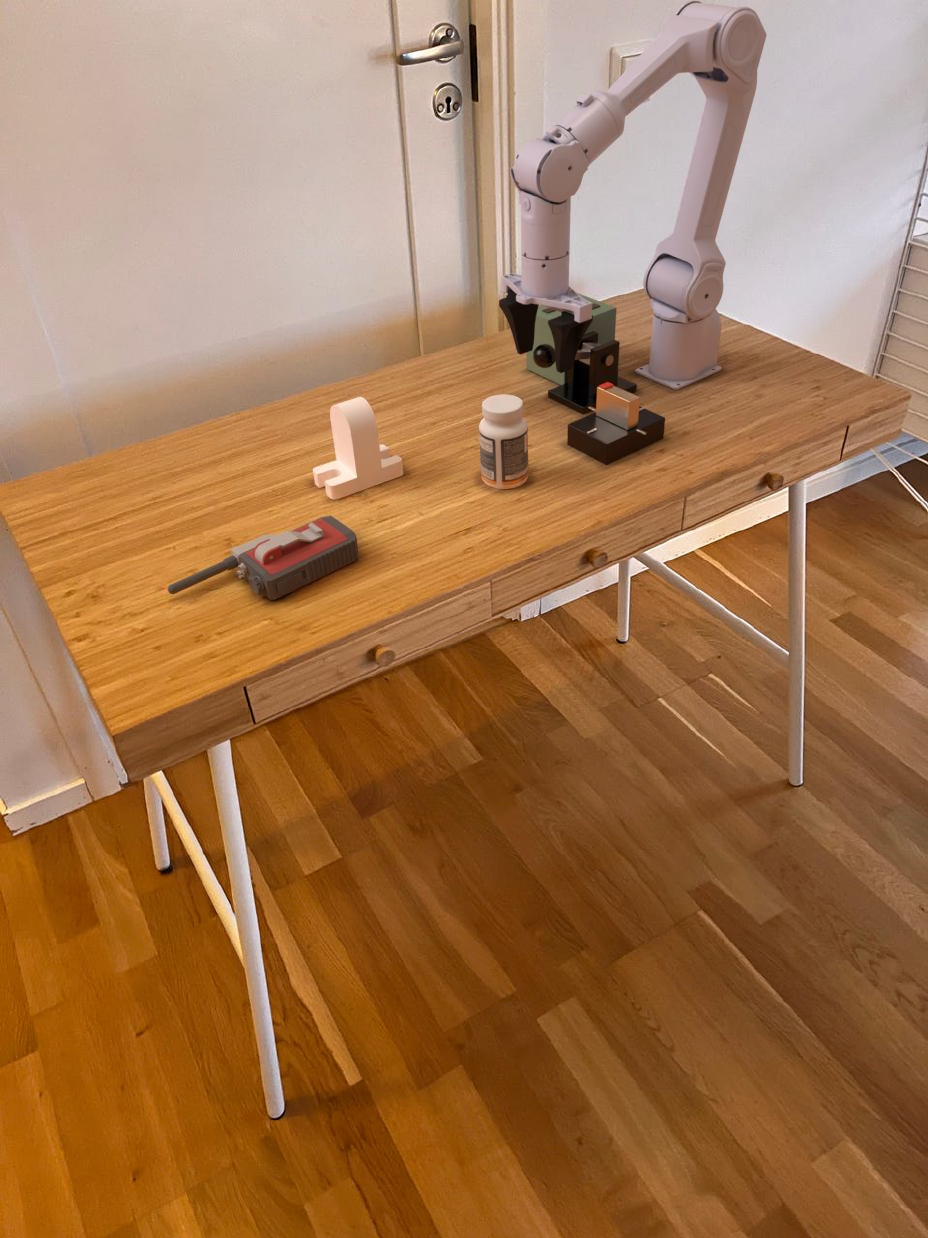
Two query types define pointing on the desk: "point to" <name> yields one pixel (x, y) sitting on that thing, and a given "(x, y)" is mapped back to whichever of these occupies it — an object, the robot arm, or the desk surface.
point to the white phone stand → (356, 452)
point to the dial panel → (614, 435)
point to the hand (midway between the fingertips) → (544, 360)
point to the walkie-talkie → (286, 558)
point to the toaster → (601, 324)
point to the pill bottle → (503, 442)
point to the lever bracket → (591, 376)
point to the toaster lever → (546, 354)
